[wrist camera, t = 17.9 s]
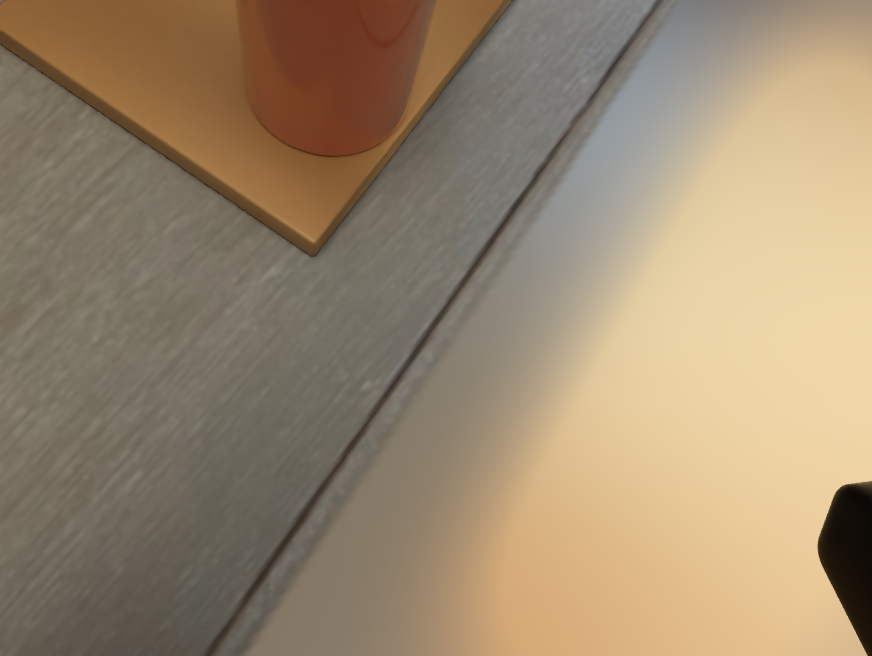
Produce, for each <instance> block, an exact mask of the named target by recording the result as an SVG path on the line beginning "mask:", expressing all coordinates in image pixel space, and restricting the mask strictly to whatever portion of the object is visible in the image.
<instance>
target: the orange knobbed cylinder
mask: <svg viewBox="0 0 872 656" xmlns="http://www.w3.org/2000/svg"><path fill="white" fill-rule="evenodd" d="M234 1H235V10H236V19H237V28H238V37H239V46H240V55H241V64H242V73H243V82H244V88H245V93H246V96H247V99H248V102H249V104H250V106H251V108H252V110H253V112H254V113H255V115H256V116H257V118H258V119H259V121H260V122H261V123H262V124H263V125H264V126H265V128H266V129H268V130H269V131H270V132H271V133H272V134H273V135H274V136H276V137H277V138H279V139H280V140H282V141H283V142H285V143H286V144H288V145H290V146H292V147H294V148H297V149H299V150H302V151H305V152H308V153H312V154H316V155H324V156H343V155H351V154H355V153H359V152H362V151H365V150H368V149H370V148H372V147H374V146H376V145H378V144H380V143H381V142H383V141H384V140H386V139H387V138H388V137H389V136H390V135H392V134H393V133H394V132H395V131H396V130H397V128H398V127H399V126H400V124H401V123H402V122H403V120H404V118H405V116H406V115H407V112H408V110H409V107H410V105H411V101H412V97H413V93H414V89H415V85H416V81H417V77H418V74H419V70H420V66H421V62H422V58H423V54H424V50H425V47H426V43H427V39H428V35H429V31H430V27H431V23H432V20H433V16H434V12H435V8H436V4H437V0H234Z"/></svg>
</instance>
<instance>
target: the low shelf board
mask: <svg viewBox="0 0 872 656" xmlns="http://www.w3.org/2000/svg"><path fill="white" fill-rule="evenodd" d="M511 2H512V0H437V4H436V8H435V12H434V16H433V20H432V23H431V27H430V31H429V35H428V39H427V43H426V47H425V50H424V54H423V58H422V62H421V66H420V70H419V74H418V77H417V81H416V85H415V89H414V93H413V97H412V101H411V105H410V107H409V110H408V112H407V115H406V116H405V118H404V120H403V122H402V123H401V124H400V126H399V127H398V128H397V130H396V131H395V132H394V133H393V134H392V135H390V136H389V137H388V138H387V139H386V140H384V141H383V142H381V143H380V144H378V145H376V146H374V147H372V148H370V149H368V150H365V151H362V152H359V153H355V154H351V155H343V156H324V155H316V154H312V153H308V152H305V151H302V150H299V149H297V148H294V147H292V146H290V145H288V144H286V143H285V142H283V141H282V140H280V139H279V138H277V137H276V136H274V135H273V134H272V133H271V132H270V131H269V130H268V129H266V128H265V126H264V125H263V124H262V123H261V122H260V121H259V119H258V118H257V116H256V115H255V113H254V112H253V110H252V108H251V106H250V104H249V102H248V99H247V96H246V93H245V88H244V82H243V73H242V64H241V55H240V46H239V37H238V28H237V19H236V10H235V1H234V0H3V1H2V2H1V3H0V44H2V45H3V46H5V47H6V48H8V49H9V50H10V51H12V52H13V53H15V54H16V55H18V56H19V57H21V58H22V59H24V60H25V61H27V62H28V63H29V64H31V65H32V66H34V67H35V68H37V69H38V70H40V71H41V72H43V73H44V74H46V75H47V76H49V77H50V78H51V79H53V80H54V81H56V82H57V83H59V84H60V85H62V86H63V87H65V88H66V89H68V90H69V91H71V92H72V93H73V94H75V95H76V96H78V97H79V98H81V99H82V100H84V101H85V102H87V103H88V104H90V105H91V106H92V107H94V108H95V109H97V110H98V111H100V112H101V113H103V114H104V115H106V116H107V117H109V118H110V119H112V120H113V121H114V122H116V123H117V124H119V125H120V126H122V127H123V128H125V129H126V130H128V131H129V132H131V133H132V134H134V135H135V136H136V137H138V138H139V139H141V140H142V141H144V142H145V143H147V144H148V145H150V146H151V147H153V148H154V149H155V150H157V151H158V152H160V153H161V154H163V155H164V156H166V157H167V158H169V159H170V160H172V161H173V162H175V163H176V164H177V165H179V166H180V167H182V168H183V169H185V170H186V171H188V172H189V173H191V174H192V175H194V176H195V177H196V178H198V179H199V180H201V181H202V182H204V183H205V184H207V185H208V186H210V187H211V188H213V189H214V190H216V191H217V192H218V193H220V194H221V195H223V196H224V197H226V198H227V199H229V200H230V201H232V202H233V203H235V204H236V205H238V206H239V207H240V208H242V209H243V210H245V211H246V212H248V213H249V214H251V215H252V216H254V217H255V218H257V219H258V220H259V221H261V222H262V223H264V224H265V225H267V226H268V227H270V228H271V229H273V230H274V231H276V232H277V233H279V234H280V235H281V236H283V237H284V238H286V239H287V240H289V241H290V242H292V243H293V244H295V245H296V246H298V247H299V248H300V249H302V250H303V251H305V252H306V253H308V254H309V255H311V256H315V255H316V254H317V252H318V251H319V250H320V249H321V247H322V246H323V245H324V243H325V242H326V241H327V240H328V238H329V237H330V236H331V234H332V233H333V232H334V230H335V229H336V228H337V227H338V225H339V224H340V223H341V221H342V220H343V219H344V218H345V216H346V215H347V214H348V212H349V211H350V210H351V208H352V207H353V206H354V205H355V203H356V202H357V201H358V199H359V198H360V197H361V196H362V194H363V193H364V192H365V190H366V189H367V188H368V187H369V185H370V184H371V183H372V181H373V180H374V179H375V177H376V176H377V175H378V174H379V172H380V171H381V170H382V168H383V167H384V166H385V165H386V163H387V162H388V161H389V159H390V158H391V157H392V155H393V154H394V153H395V152H396V150H397V149H398V148H399V146H400V145H401V144H402V143H403V141H404V140H405V139H406V137H407V136H408V135H409V134H410V132H411V131H412V130H413V128H414V127H415V126H416V124H417V123H418V122H419V121H420V119H421V118H422V117H423V115H424V114H425V113H426V112H427V110H428V109H429V108H430V106H431V105H432V104H433V102H434V101H435V100H436V99H437V97H438V96H439V95H440V93H441V92H442V91H443V90H444V88H445V87H446V86H447V84H448V83H449V82H450V81H451V79H452V78H453V77H454V75H455V74H456V73H457V71H458V70H459V69H460V68H461V66H462V65H463V64H464V62H465V61H466V60H467V59H468V57H469V56H470V55H471V53H472V52H473V51H474V49H475V48H476V47H477V46H478V44H479V43H480V42H481V40H482V39H483V38H484V37H485V35H486V34H487V33H488V31H489V30H490V29H491V28H492V26H493V25H494V24H495V22H496V21H497V20H498V18H499V17H500V16H501V15H502V13H503V12H504V11H505V9H506V8H507V7H508V6H509V4H510V3H511Z"/></svg>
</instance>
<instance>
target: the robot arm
mask: <svg viewBox="0 0 872 656" xmlns="http://www.w3.org/2000/svg"><path fill="white" fill-rule="evenodd" d="M818 554H819V558H820V562H821V564H822V566H823V568H824V570H825V572H826V574H827V576H828V578H829V580H830V582H831V584H832V586H833V588H834V590H835V592H836V594H837V596H838V598H839V600H840V602H841V604H842V606H843V608H844V610H845V612H846V614H847V616H848V618H849V620H850V622H851V623H852V626H853V628H854V630H855V631H856V634H857V635H858V638H859V640H860V642H861V643H862V645H863V647H864V649H865V651H866V653H867V655H868V656H872V481H871V482H862V483H854V484H846V485H844V486H842V487H840V488H839V489H838V490H837V491H836V493H835V495H834V498H833V500H832V503H831V506H830V509H829V511H828V514H827V517H826V520H825V522H824V525H823V528H822V530H821V533H820V536H819V539H818Z"/></svg>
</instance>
